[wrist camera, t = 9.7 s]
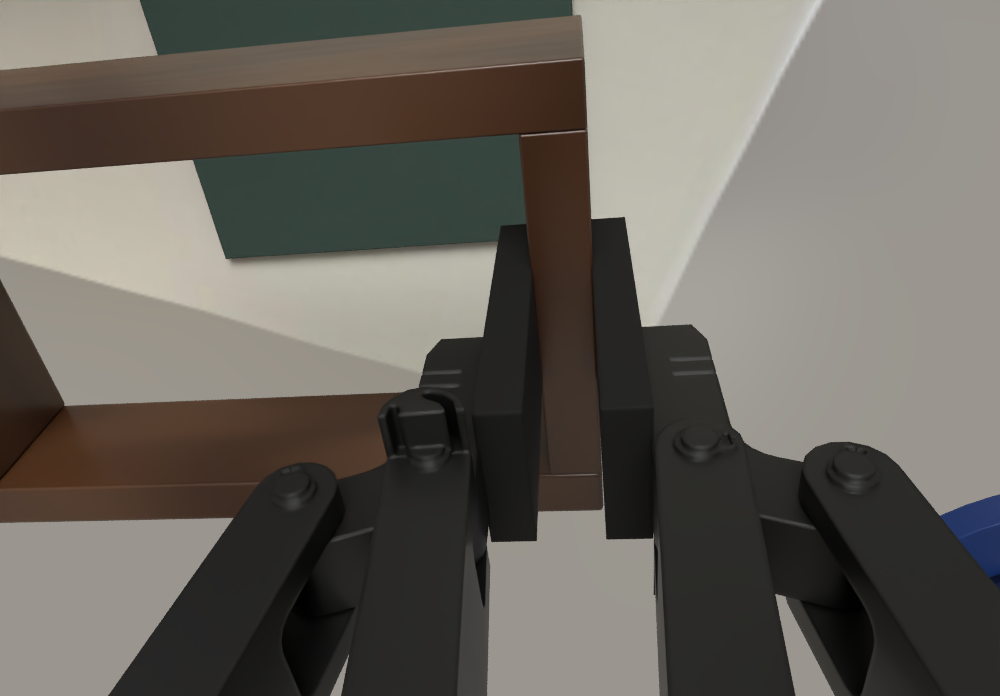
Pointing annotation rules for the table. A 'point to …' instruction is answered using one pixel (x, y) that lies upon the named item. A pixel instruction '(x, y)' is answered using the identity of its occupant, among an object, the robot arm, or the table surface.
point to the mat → (354, 170)
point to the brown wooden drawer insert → (290, 128)
